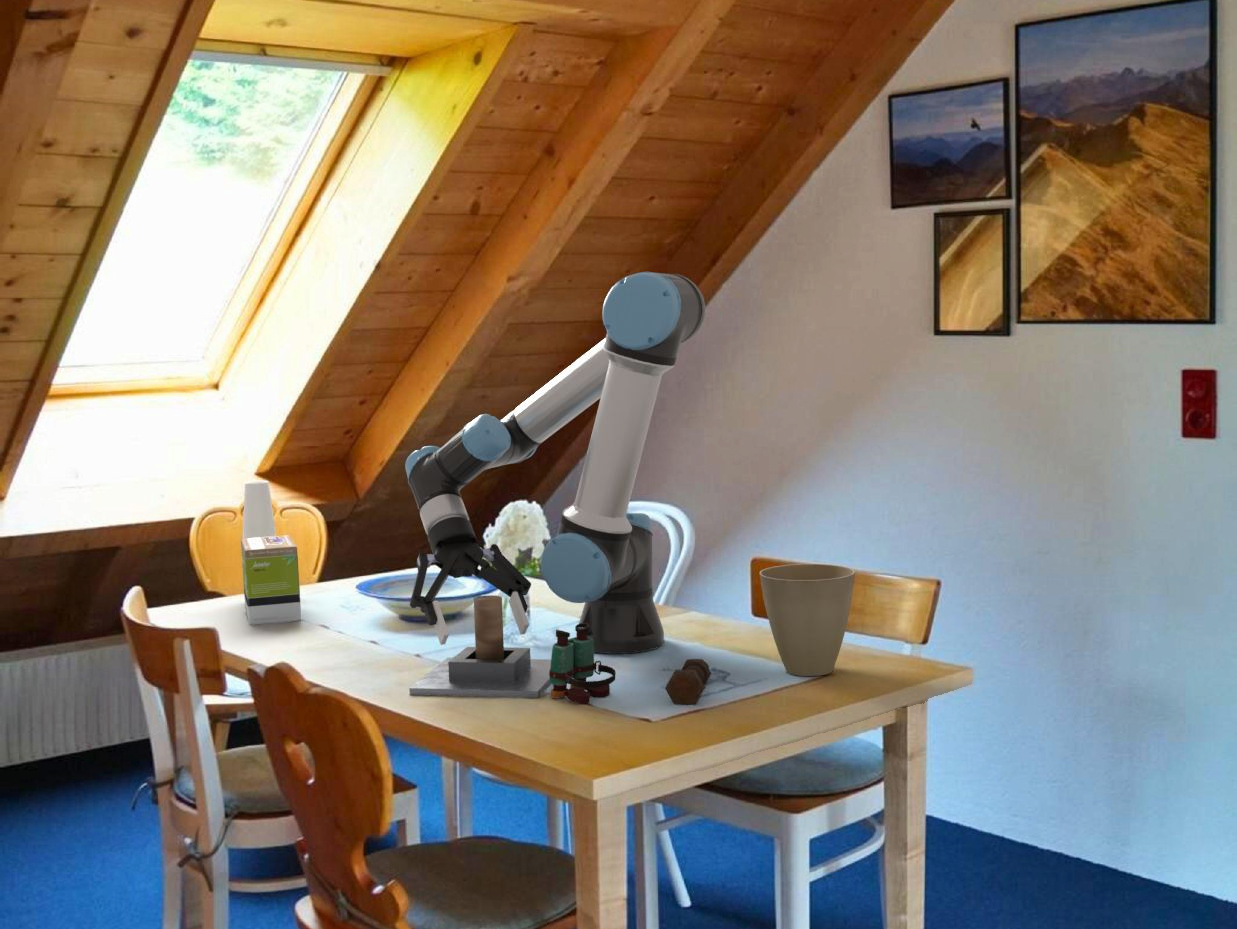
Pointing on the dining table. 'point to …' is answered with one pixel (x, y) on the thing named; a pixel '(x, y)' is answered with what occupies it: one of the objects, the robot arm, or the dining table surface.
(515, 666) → the socket
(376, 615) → the dining table surface
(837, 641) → the plant pot
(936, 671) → the dining table surface
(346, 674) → the dining table surface
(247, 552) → the tea box
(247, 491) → the grey tapered column
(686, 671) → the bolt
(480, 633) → the peg
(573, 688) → the binoculars
